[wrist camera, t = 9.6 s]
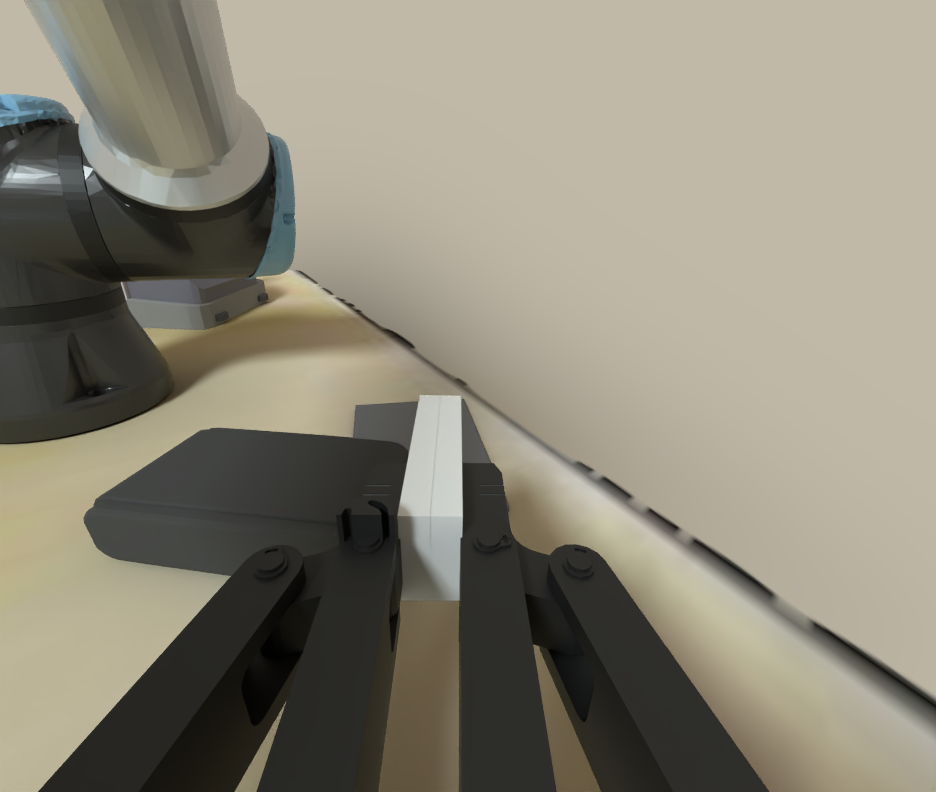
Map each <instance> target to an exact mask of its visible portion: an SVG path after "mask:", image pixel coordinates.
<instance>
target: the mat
mask: <svg viewBox="0 0 936 792" xmlns="http://www.w3.org/2000/svg"><path fill="white" fill-rule="evenodd" d="M417 408H418V402H403V403H386V404H370V405H356V410H355V422H354V434H353V438H360V439H372V440H383V441H392V442H397V443H399V444H401V445H403V446H404V447H405V448H406V449H407V450H408V453H409V451H410V445H411V440H412V435H413V429H414V424H415V418H416V413H417ZM461 426H462V463H490V460H489V458H488V455H487V453H486V451H485V448H484V446H483V443H482V441H481V439H480V436H479V434H478V432H477V429H476V427H475V424H474V422H473V420H472V417H471V415H470V412H469V410H468V408H467V405H466V403H465V401H464V399H461ZM506 504H507V511H508V512H509V505H508V503H507V501H506Z"/></svg>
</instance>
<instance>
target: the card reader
mask: <svg viewBox="0 0 936 792" xmlns="http://www.w3.org/2000/svg"><path fill="white" fill-rule="evenodd" d="M408 456H409V453H408V450H407V449H406V448H405V447H404V446H403V445H401V444H399V443H397V442H392V441H383V440H372V439H360V438H349V437H338V436H326V435H312V434H299V433H285V432H271V431H258V430H244V429H230V428H211V429H209V430H200V431H199V432H197V433H196V434H194V435H193V436H191V437H190V438H188V439H187V440H185V441H184V442H182V443H180V444H179V445H177V446H176V447H174V448H173V449H171V450H170V451H168V452H167V453H165V454H164V455H162V456H161V457H159V458H158V459H156V460H155V461H153V462H152V463H150V464H148V465H147V466H145V467H144V468H142V469H141V470H139V471H138V472H136V473H135V474H133V475H132V476H130V477H129V478H127V479H126V480H124V481H123V482H121V483H120V484H118V485H116V486H115V487H113V488H112V489H110V490H109V491H107V492H106V493H104V494H103V495H101V496H100V497H98V498H97V499H96V500H95V503H94V507H92V508H91V509H89V510H88V511H87V512H86V514H85V516H84V523H85V525H86V527H87V529H88V531H89V533H90V535H91V537H92V539H93V541H94V543H95V545H96V547H97V548H98V549H99V550H100V551H102V552H103V553H104V554H106V555H108V556H110V557H112V558H115V559H118V560H124V561H131V562H137V563H144V564H151V565H158V566H165V567H172V568H179V569H186V570H193V571H200V572H207V573H214V574H221V575H229V576H232V575H233V574H234V573H235V571H236V570H237V569H238V568H239V567H240V566H241V565H242V564H243V563H244V561H245V560H247V559H248V558H249V557H250V556H251V555H253V554H254V553H256V552H258V551H260V550H262V549H264V548H266V547H270V546H275V545H289V546H292V547H294V548H297V549H298V550H299V551H300V553H301V554H302V556H303V557H305V556H309V555H313V554H317V553H321V552H324V551H327V550H330V549H332V548H334V547H336V546H338V545H339V536H338V528H337V521H336V514H337V512H338V511H339V509H340V508H341V507H342V506H343V505H345V504H346V503H348V502H349V501H352V500H355V499H357V498H361V497H362V496H363V491H364V488H365V486H366V481H367V478H368V475H369V473H370V472H371V471H372V470H373V469H374V468H375V467H376V466H377V465H378V464H379V463H405V464H407V461H408Z"/></svg>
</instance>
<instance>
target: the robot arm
mask: <svg viewBox="0 0 936 792" xmlns="http://www.w3.org/2000/svg"><path fill="white" fill-rule="evenodd" d="M24 2H25V3H26V5H27V7H28V8H29V10H30V12H31V14H32V15H33V17H34V19H35V21H36V22H37V24H38V26H39V27H40V29H41V31H42V33H43V34H44V36H45V38H46V39H47V41H48V43H49V45H50V46H51V48H52V50H53V52H54V53H55V55H56V57H57V58H58V60H59V62H60V64H61V65H62V67H63V69H64V71H65V72H66V74H67V76H68V77H69V79H70V81H71V83H72V84H73V86H74V88H75V89H76V91H77V93H78V95H79V96H80V98H81V100H82V102H83V103H84V105H85V106H84V108H83V111H82V113H81V116H80V120H79V124H75V120H74V117H73V116H72V115H71V114H70V113H69V112H68V110H67V108H66V107H65V106H64V105H62V104H61V103H59V102H57V101H54V100H51V99H47V98H40V97H35V96H26V95H16V94H2V95H0V443H19V442H30V441H38V440H45V439H52V438H57V437H63V436H68V435H73V434H77V433H81V432H85V431H89V430H93V429H96V428H100V427H103V426H106V425H110V424H113V423H116V422H118V421H121V420H124V419H126V418H129V417H131V416H134V415H136V414H138V413H140V412H143V411H145V410H147V409H149V408H150V407H152V406H154V405H155V404H157V403H159V402H160V401H161V400H163V399H164V398H165V397H166V396H167V395H168V394H169V393H170V392H171V390H172V388H173V381H172V377H171V374H170V370H169V366H168V364H167V362H166V360H165V359H164V357H163V356H162V355H161V353H160V352H159V350H158V349H157V348H156V346H155V345H154V343H153V342H152V341H151V339H150V338H149V337H148V335H147V334H146V332H145V331H144V330H143V328H142V327H141V325H140V324H139V323H138V321H137V320H136V319H135V317H134V316H133V314H132V313H131V311H130V310H129V308H128V305H127V302H126V298H125V295H124V292H123V288H122V285H121V282H137V281H161V280H188V279H220V278H244V279H255V278H256V277H260V276H272V275H280V274H282V273H284V272H286V271H287V270H288V269H289V268H290V266H291V264H292V262H293V258H294V252H295V236H296V232H295V219H294V215H295V211H294V210H295V197H294V184H293V174H292V166H291V160H290V155H289V151H288V147H287V145H286V143H285V142H284V141H283V140H282V139H281V138H280V137H278V136H274V135H271V134H270V133H267V132H266V131H265V128H264V126H263V124H262V121H261V119H260V118H259V116H258V115H257V114H256V112H255V111H254V109H253V108H252V107H251V106H250V105H249V104H248V103H247V102H246V101H245V100H243V99H242V98H241V97H240V96H239V95H237V94H236V89H235V85H234V80H233V75H232V71H231V66H230V61H229V57H228V52H227V47H226V43H225V39H224V34H223V29H222V24H221V20H220V15H219V10H218V6H217V2H216V0H24ZM336 521H337V528H338V536H339V545H338V546H336V547H334V548H332V549H330V550H327V551H324V552H321V553H317V554H313V555H309V556H305V557H303V556H302V554H301V553H300V551H299V550H298V549H297V548H294V547H292V546H289V545H275V546H270V547H266V548H264V549H262V550H260V551H258V552H256V553H254V554H253V555H251V556H250V557H249V558H248V559H247V560H245V561H244V563H243V564H242V565H241V566H240V567H239V568H238V569H237V570H236V571H235V573H234V574H233V575H232V576H231V577H230V578H229V579H228V580H227V582H226V583H225V584H224V585H223V586H222V587H221V588H220V589H219V590H218V592H217V593H216V594H215V595H214V596H213V597H212V598H211V599H210V600H209V602H208V603H207V604H206V605H205V606H204V607H203V608H202V609H201V611H200V612H199V613H198V614H197V615H196V616H195V617H194V618H193V619H192V621H191V622H190V623H189V624H188V625H187V626H186V627H185V628H184V629H183V631H182V632H181V633H180V634H179V635H178V636H177V637H176V638H175V640H174V641H173V642H172V643H171V644H170V645H169V646H168V647H167V648H166V650H165V651H164V652H163V653H162V654H161V655H160V656H159V657H158V658H157V660H156V661H155V662H154V663H153V664H152V665H151V666H150V667H149V668H148V670H147V671H146V672H145V673H144V674H143V675H142V676H141V677H140V679H139V680H138V681H137V682H136V683H135V684H134V685H133V686H132V687H131V689H130V690H129V691H128V692H127V693H126V694H125V695H124V696H123V697H122V699H121V700H120V701H119V702H118V703H117V704H116V705H115V706H114V708H113V709H112V710H111V711H110V712H109V713H108V714H107V715H106V716H105V718H104V719H103V720H102V721H101V722H100V723H99V724H98V725H97V726H96V728H95V729H94V730H93V731H92V732H91V733H90V734H89V735H88V737H87V738H86V739H85V740H84V741H83V742H82V743H81V744H80V745H79V747H78V748H77V749H76V750H75V751H74V752H73V753H72V754H71V755H70V757H69V758H68V759H67V760H66V761H65V762H64V763H63V764H62V766H61V767H60V768H59V769H58V770H57V771H56V772H55V773H54V774H53V776H52V777H51V778H50V779H49V780H48V781H47V782H46V783H45V784H44V786H43V787H42V788H41V789H40V790H39V791H38V792H235V790H236V788H237V786H238V785H239V783H240V781H241V779H242V778H243V776H244V774H245V772H246V771H247V769H248V767H249V765H250V763H251V762H252V760H253V758H254V756H255V755H256V753H257V751H258V749H259V748H260V746H261V744H262V742H263V741H264V739H265V737H266V735H267V734H268V732H269V730H270V728H271V727H272V725H273V723H274V721H275V720H276V718H277V716H278V714H279V713H280V711H281V709H282V707H283V706H284V704H285V702H286V700H287V702H286V705H285V708H284V711H283V714H282V717H281V720H280V723H279V726H278V729H277V732H276V735H275V738H274V741H273V744H272V747H271V750H270V753H269V756H268V759H267V762H266V765H265V768H264V771H263V774H262V777H261V780H260V783H259V786H258V789H257V792H378V787H379V779H380V771H381V764H382V756H383V748H384V741H385V733H386V726H387V718H388V710H389V703H390V695H391V687H392V680H393V672H394V665H395V657H396V649H397V642H398V634H399V626H400V598H401V592H402V601H460V606H459V792H556V786H555V779H554V773H553V767H552V761H551V755H550V748H549V742H548V736H547V730H546V723H545V717H544V711H543V705H542V699H541V692H540V686H539V680H538V674H537V667H536V661H535V655H534V649H533V644H535V645H538V646H539V647H540V651H541V653H542V656H543V658H544V660H545V663H546V665H547V667H548V669H549V672H550V674H551V676H552V679H553V681H554V683H555V686H556V688H557V690H558V693H559V695H560V697H561V699H562V702H563V704H564V706H565V709H566V711H567V713H568V716H569V718H570V720H571V723H572V725H573V727H574V729H575V732H576V734H577V736H578V739H579V741H580V743H581V746H582V748H583V750H584V753H585V755H586V757H587V759H588V762H589V764H590V766H591V769H592V771H593V773H594V776H595V778H596V780H597V783H598V785H599V787H600V790H601V792H769V791H768V789H767V788H766V786H765V785H764V784H763V782H762V781H761V779H760V778H759V777H758V775H757V774H756V772H755V771H754V770H753V768H752V767H751V765H750V764H749V762H748V761H747V760H746V758H745V757H744V755H743V754H742V753H741V751H740V750H739V748H738V747H737V746H736V744H735V743H734V741H733V740H732V739H731V737H730V736H729V734H728V733H727V731H726V730H725V729H724V727H723V726H722V724H721V723H720V722H719V720H718V719H717V717H716V716H715V715H714V713H713V712H712V710H711V709H710V708H709V706H708V705H707V703H706V702H705V701H704V699H703V698H702V696H701V695H700V693H699V692H698V691H697V689H696V688H695V686H694V685H693V684H692V682H691V681H690V679H689V678H688V677H687V675H686V674H685V672H684V671H683V670H682V668H681V667H680V665H679V664H678V663H677V661H676V660H675V658H674V657H673V655H672V654H671V653H670V651H669V650H668V648H667V647H666V646H665V644H664V643H663V641H662V640H661V639H660V637H659V636H658V634H657V633H656V632H655V630H654V629H653V627H652V626H651V624H650V623H649V622H648V620H647V619H646V617H645V616H644V615H643V613H642V612H641V610H640V609H639V608H638V606H637V605H636V603H635V602H634V601H633V599H632V598H631V596H630V595H629V594H628V592H627V591H626V589H625V588H624V586H623V585H622V584H621V582H620V581H619V579H618V578H617V577H616V575H615V574H614V572H613V571H612V570H611V568H610V567H609V565H608V564H607V563H606V561H605V560H604V559H603V558H602V557H601V556H600V555H599V554H598V553H597V552H595V551H593V550H591V549H590V548H588V547H584V546H580V545H564V546H561V547H558V548H556V549H555V550H554V551H553V552H552V553H551V555H546V554H542V553H539V552H535V551H532V550H530V549H528V548H526V547H524V546H522V545H521V544H520V543H519V542H518V541H516V539H515V538H514V536H513V535H512V533H511V530H510V524H509V518H508V511H507V504H506V498H505V491H504V486H503V478H502V473H501V472H500V470H499V469H498V468H497V467H496V466H495V464H494V463H462V426H461V396H441V395H420V397H419V402H418V408H417V413H416V418H415V424H414V429H413V435H412V440H411V445H410V451H409V456H408V461H407V464H405V463H379V464H378V465H377V466H376V467H375V468H374V469H373V470H372V471H371V472H370V473H369V475H368V478H367V481H366V486H365V488H364V491H363V496H362V497H361V498H357V499H355V500H352V501H349V502H348V503H346V504H345V505H343V506H342V507H341V508H340V509H339V511H338V512H337V514H336ZM287 698H288V699H287Z"/></svg>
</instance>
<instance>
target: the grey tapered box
mask: <svg viewBox="0 0 936 792" xmlns="http://www.w3.org/2000/svg"><path fill="white" fill-rule="evenodd" d="M121 285H122V288H123V292H124V295H125V298H126V302H127V305H128V308H129V310H130V311H131V313H132V314H133V316H134V317H135V319H136V320H137V321H138V323H139V324H140V325H141V327H142V328H162V329H185V330H205V329H209V328H213V327H215V326H217V325H220V324H222V323H224V322H226V321H228V320H230V319H232V318H234V317H236V316H238V315H240V314H242V313H244V312H246V311H248V310H250V309H252V308H254V307H256V306H258V305H260V304H263V303H265V302H266V300H268V294H267V293H265V287H264V281H263V280H259V279H256V278H255V279H244V278H220V279H188V280H161V281H137V282H121Z"/></svg>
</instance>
